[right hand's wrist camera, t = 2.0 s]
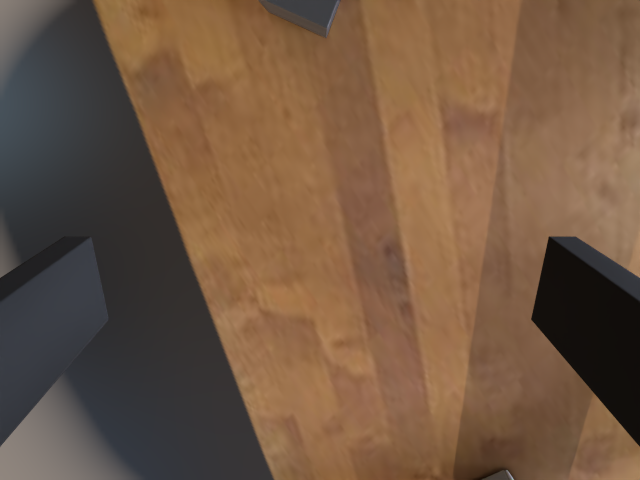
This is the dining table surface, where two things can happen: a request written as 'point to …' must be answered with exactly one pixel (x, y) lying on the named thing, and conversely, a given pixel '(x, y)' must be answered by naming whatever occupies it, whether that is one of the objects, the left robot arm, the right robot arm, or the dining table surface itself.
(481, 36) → the dining table surface
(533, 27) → the dining table surface
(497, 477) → the hard drive box
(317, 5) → the bar
